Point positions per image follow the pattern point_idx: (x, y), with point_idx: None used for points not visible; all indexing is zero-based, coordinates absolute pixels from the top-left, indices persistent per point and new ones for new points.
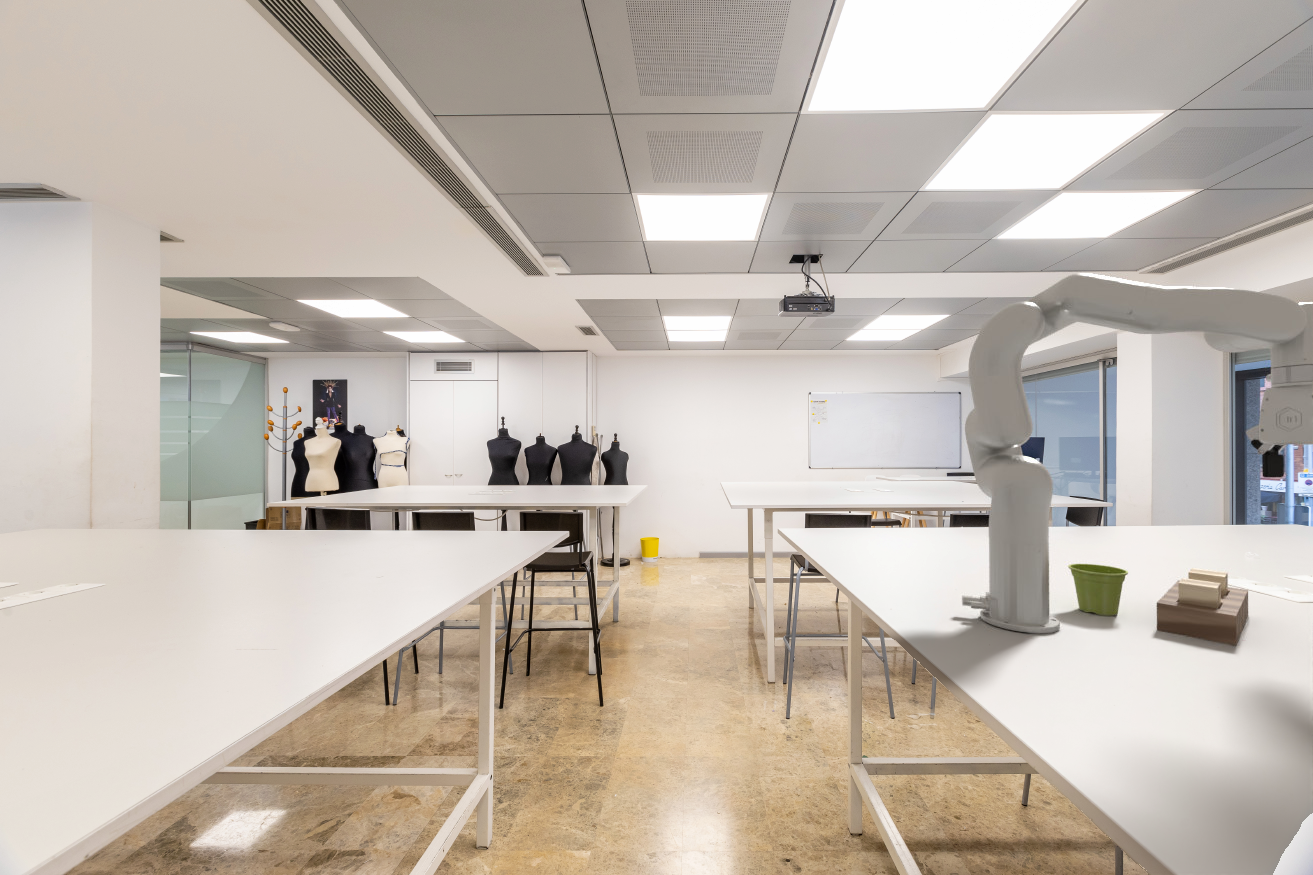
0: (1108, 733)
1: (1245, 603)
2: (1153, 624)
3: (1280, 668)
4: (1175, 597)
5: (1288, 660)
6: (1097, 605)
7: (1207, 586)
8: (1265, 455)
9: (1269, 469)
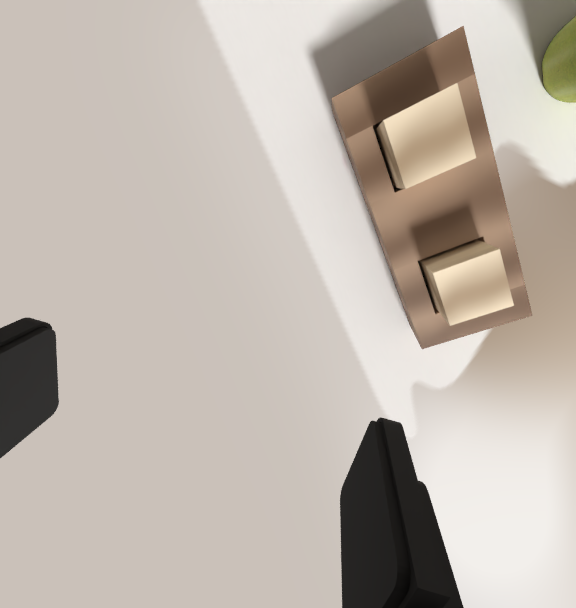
0: None
1: (400, 292)
2: None
3: (245, 47)
4: None
5: (264, 112)
6: None
7: (402, 115)
8: (417, 582)
9: (375, 466)
